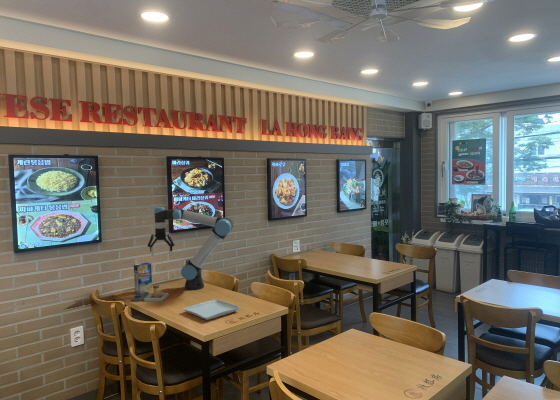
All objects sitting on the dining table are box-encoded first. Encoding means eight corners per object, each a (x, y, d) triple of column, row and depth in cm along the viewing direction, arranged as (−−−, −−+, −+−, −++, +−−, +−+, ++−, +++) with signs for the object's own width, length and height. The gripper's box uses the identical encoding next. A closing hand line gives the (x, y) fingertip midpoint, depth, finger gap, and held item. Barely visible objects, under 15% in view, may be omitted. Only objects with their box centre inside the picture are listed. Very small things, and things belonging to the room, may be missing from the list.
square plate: (241, 312, 262) (241, 306, 262) (206, 323, 243) (205, 317, 243) (216, 303, 281) (216, 298, 281) (182, 313, 262) (181, 307, 262)
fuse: (146, 295, 302) (145, 283, 302) (144, 296, 298) (143, 284, 298) (141, 295, 303) (140, 283, 302) (138, 297, 298) (138, 284, 298)
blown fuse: (160, 297, 296) (159, 285, 296) (158, 299, 292) (157, 286, 291) (154, 297, 296) (154, 285, 296) (152, 299, 292) (152, 286, 292)
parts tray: (168, 296, 300) (168, 292, 300) (162, 301, 287) (162, 298, 287) (151, 296, 301) (151, 293, 301) (144, 301, 288) (143, 298, 288)
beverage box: (134, 293, 311) (133, 264, 310) (148, 290, 319) (147, 262, 317) (138, 294, 306) (137, 266, 305) (152, 291, 314) (151, 263, 312)
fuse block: (149, 295, 304) (149, 292, 304) (140, 302, 288) (140, 298, 288) (140, 295, 304) (139, 292, 304) (131, 302, 289) (130, 298, 289)
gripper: (178, 226, 309) (179, 254, 310) (146, 227, 311) (147, 254, 312) (174, 228, 302) (176, 256, 303) (142, 228, 303) (143, 256, 305)
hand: (161, 255), depth 308 cm, fingers open, 13 cm apart
